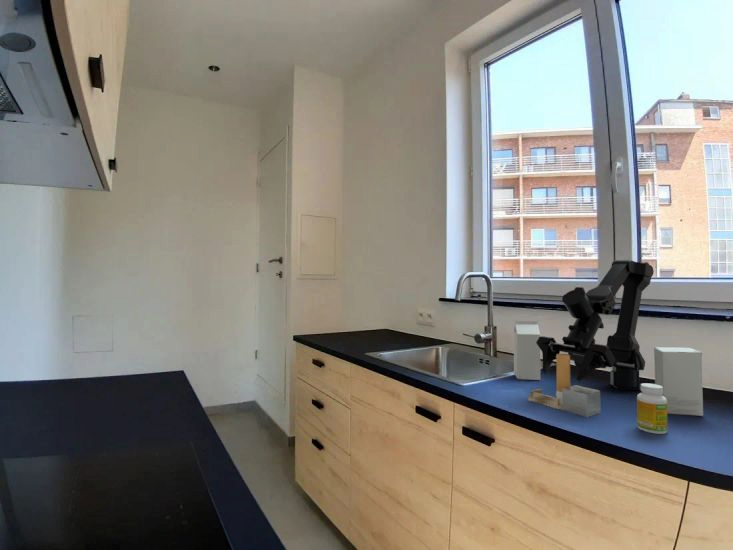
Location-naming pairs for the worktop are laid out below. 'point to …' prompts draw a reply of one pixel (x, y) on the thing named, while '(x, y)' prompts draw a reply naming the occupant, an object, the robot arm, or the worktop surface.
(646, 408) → the supplement bottle
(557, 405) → the cradle
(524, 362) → the milk carton
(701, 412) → the skincare box
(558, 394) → the orange upright rod
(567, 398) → the socket
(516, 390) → the worktop surface
